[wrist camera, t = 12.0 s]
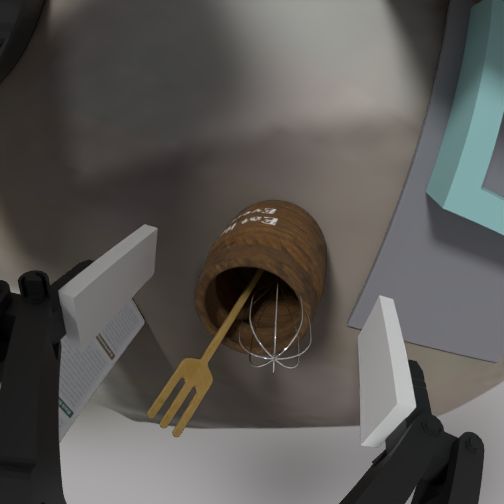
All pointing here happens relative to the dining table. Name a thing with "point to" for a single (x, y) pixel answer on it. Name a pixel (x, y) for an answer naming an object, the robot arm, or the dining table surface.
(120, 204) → the dining table surface
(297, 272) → the utensil holder
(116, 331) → the syrup box
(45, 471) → the robot arm
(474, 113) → the socket frame
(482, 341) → the grey flat plate
